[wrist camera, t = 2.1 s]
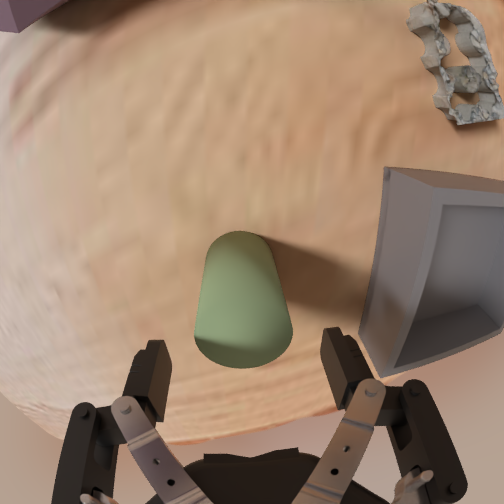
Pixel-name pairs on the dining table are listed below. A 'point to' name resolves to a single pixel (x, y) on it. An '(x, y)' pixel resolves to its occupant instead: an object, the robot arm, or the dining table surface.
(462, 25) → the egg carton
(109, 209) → the dining table surface
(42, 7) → the flask
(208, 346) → the green capsule
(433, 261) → the bin
